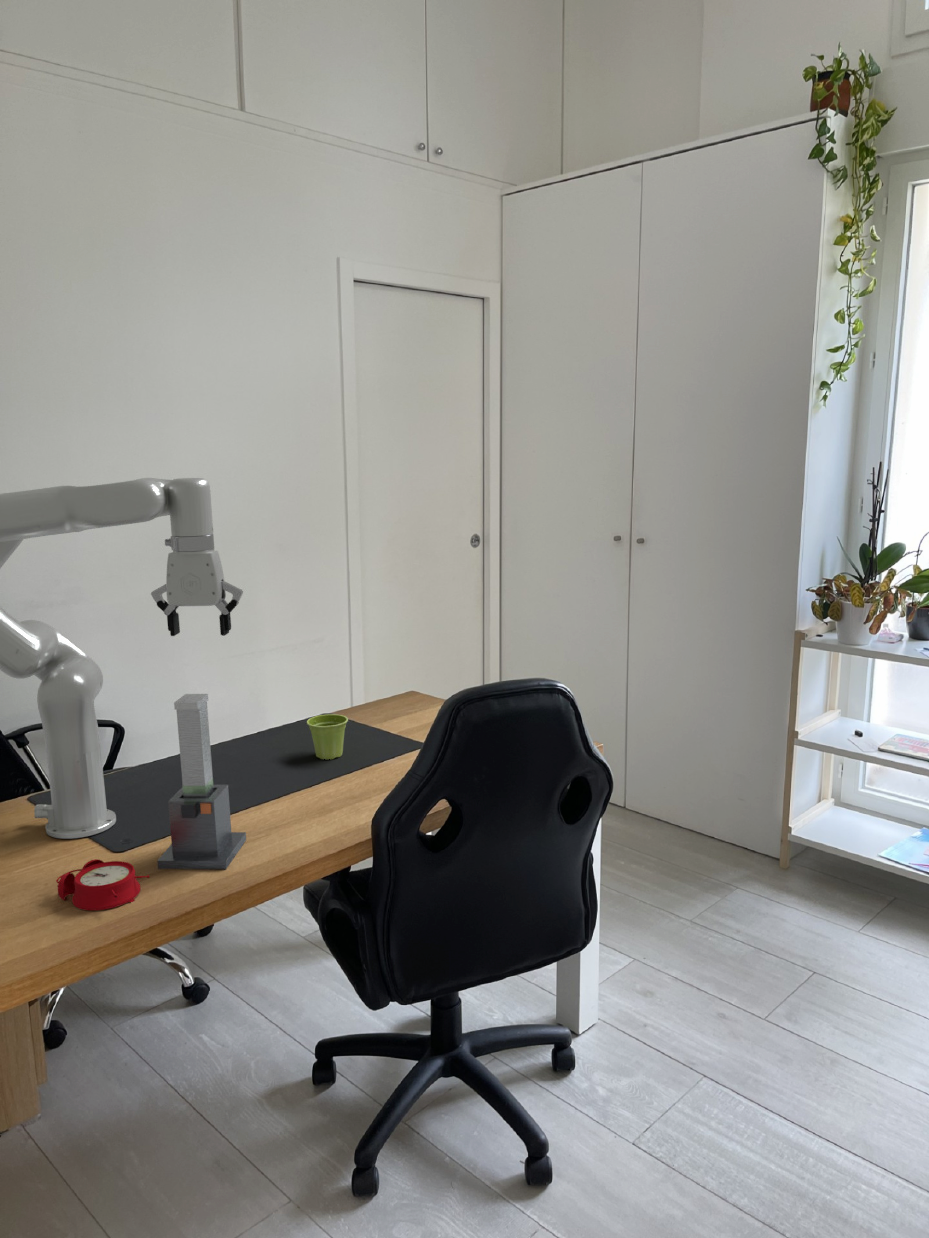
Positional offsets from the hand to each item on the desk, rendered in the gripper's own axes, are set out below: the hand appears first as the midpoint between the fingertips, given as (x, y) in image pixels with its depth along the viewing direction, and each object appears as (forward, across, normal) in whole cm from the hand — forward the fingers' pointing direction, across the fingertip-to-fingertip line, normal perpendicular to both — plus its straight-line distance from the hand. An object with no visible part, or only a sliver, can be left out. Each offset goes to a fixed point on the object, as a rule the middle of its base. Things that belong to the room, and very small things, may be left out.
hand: (200, 634), depth 178 cm
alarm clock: (+37, -8, -33) cm, 50 cm away
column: (+29, +4, -18) cm, 34 cm away
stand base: (+36, +4, -18) cm, 41 cm away
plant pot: (+36, +16, +35) cm, 53 cm away
